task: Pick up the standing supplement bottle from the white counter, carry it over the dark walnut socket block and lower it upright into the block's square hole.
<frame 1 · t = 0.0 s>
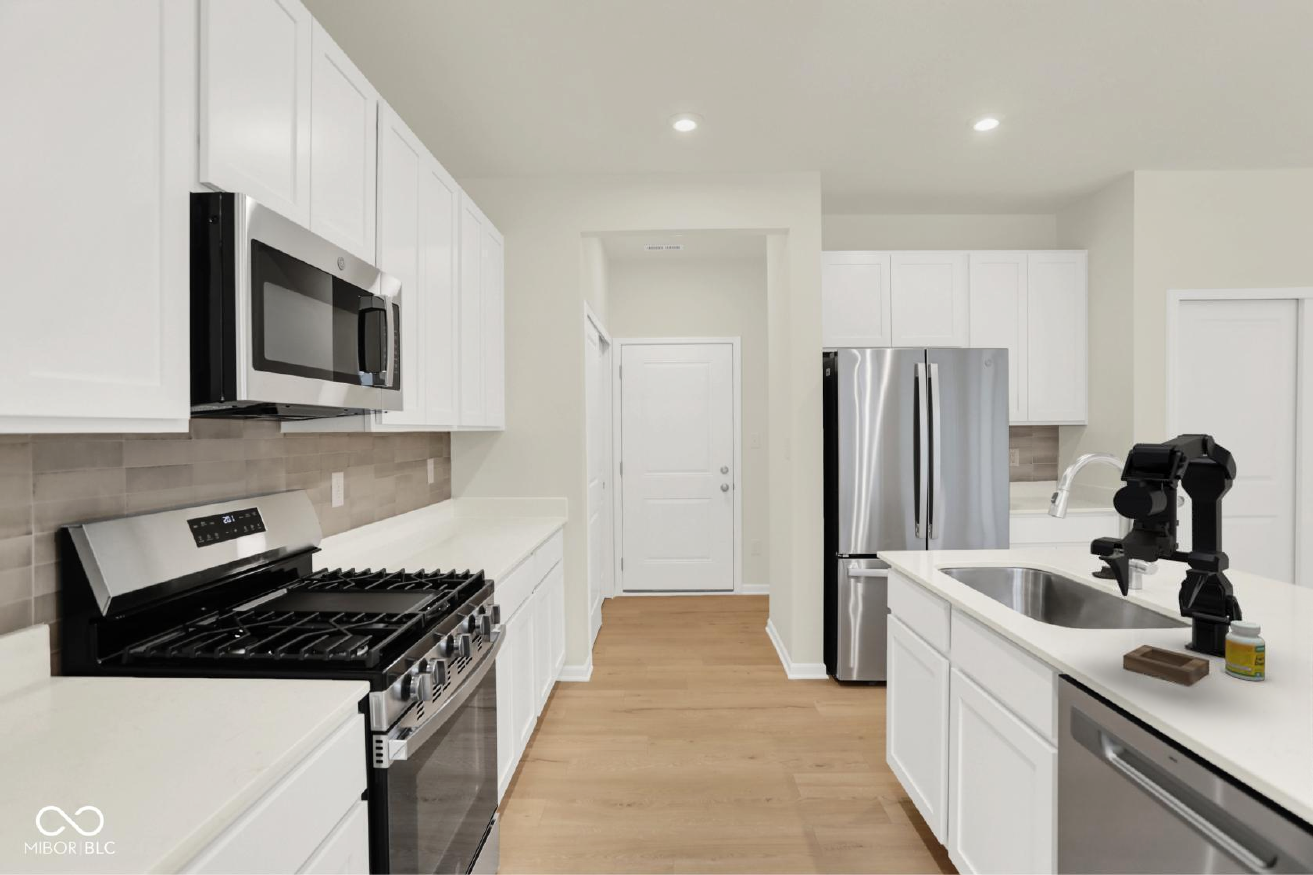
hand: (1155, 601, 113), 15 cm above the counter, tool pointing down, fingers open, 9 cm apart
supplement bottle: (1244, 676, 117), on the counter
socket block: (1165, 670, 119), on the counter
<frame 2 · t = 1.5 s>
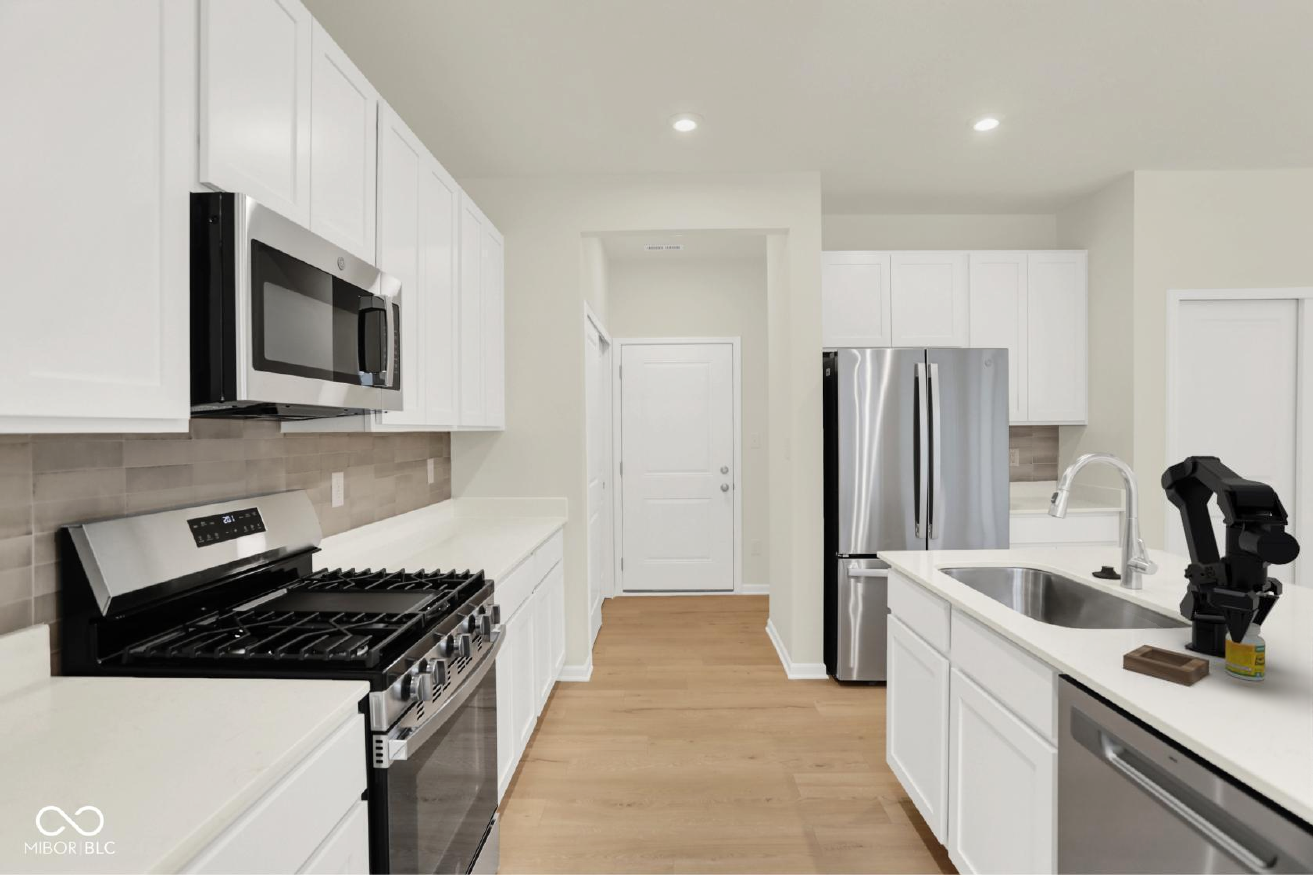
hand: (1244, 637, 117), 7 cm above the counter, tool pointing down, fingers open, 9 cm apart
nothing on the counter moved.
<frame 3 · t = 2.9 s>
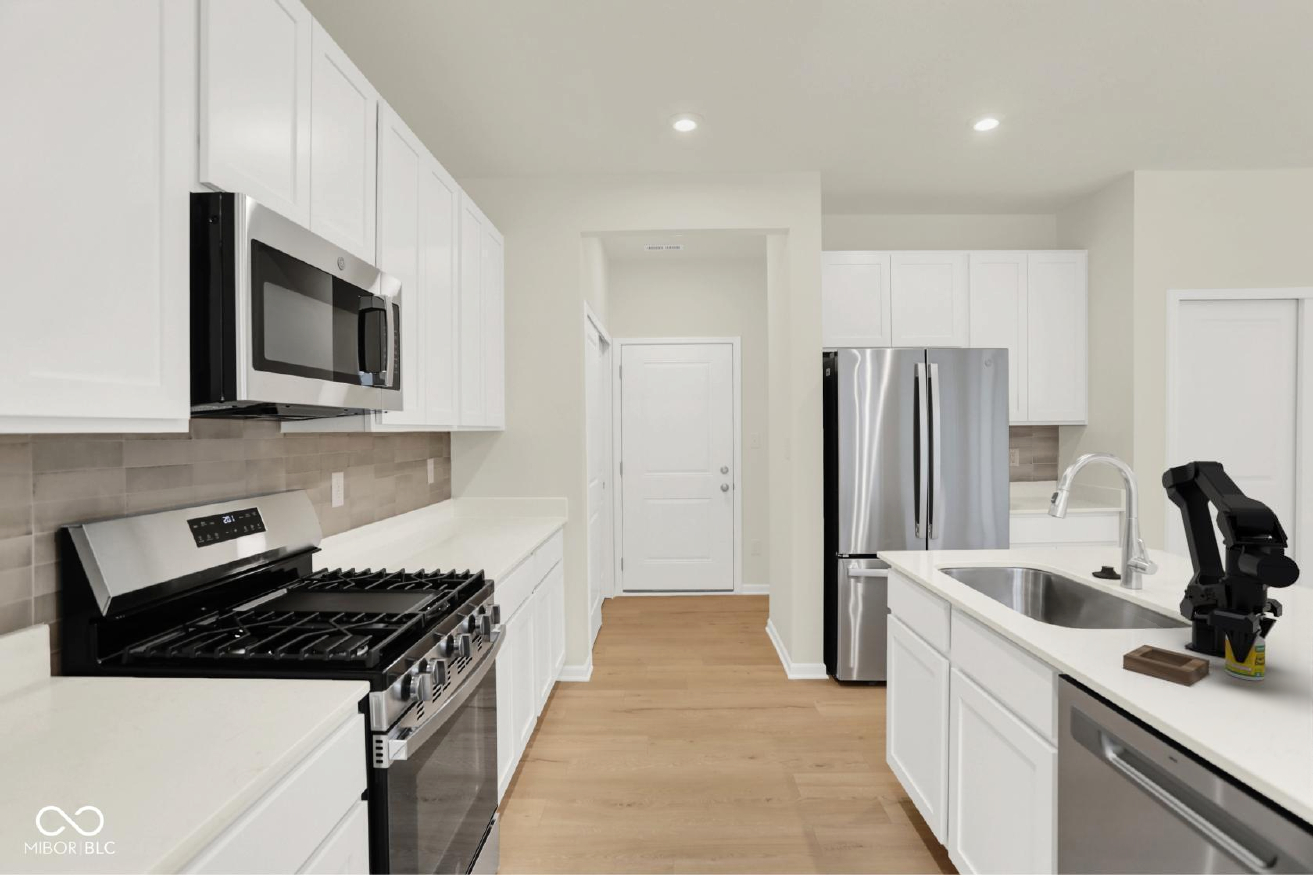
hand: (1244, 659, 117), 3 cm above the counter, tool pointing down, fingers closed on supplement bottle, 5 cm apart
supplement bottle: (1244, 676, 117), on the counter, touching gripper
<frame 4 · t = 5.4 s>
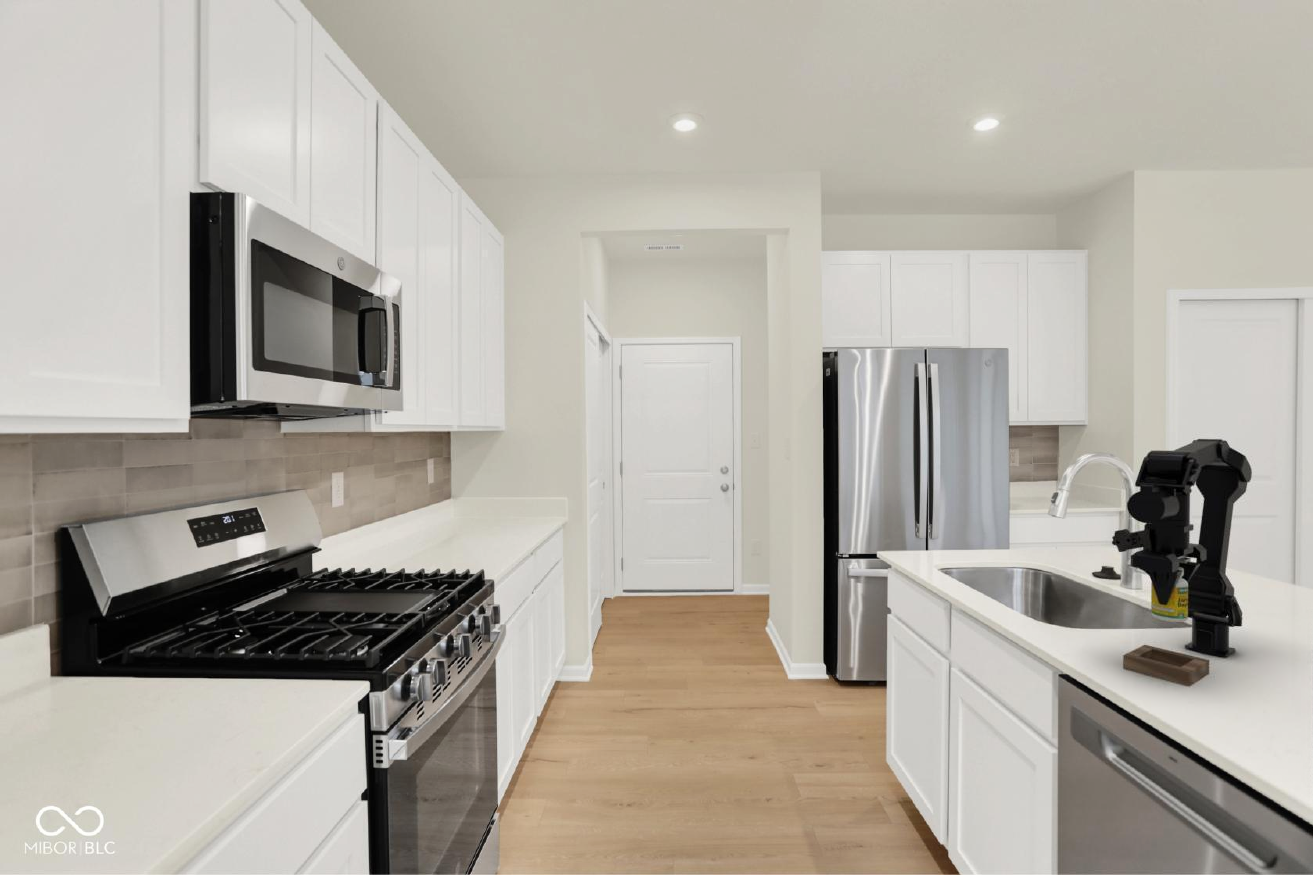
hand: (1168, 601, 119), 13 cm above the counter, tool pointing down, fingers closed on supplement bottle, 5 cm apart
supplement bottle: (1169, 619, 119), point 10 cm above the counter, touching gripper
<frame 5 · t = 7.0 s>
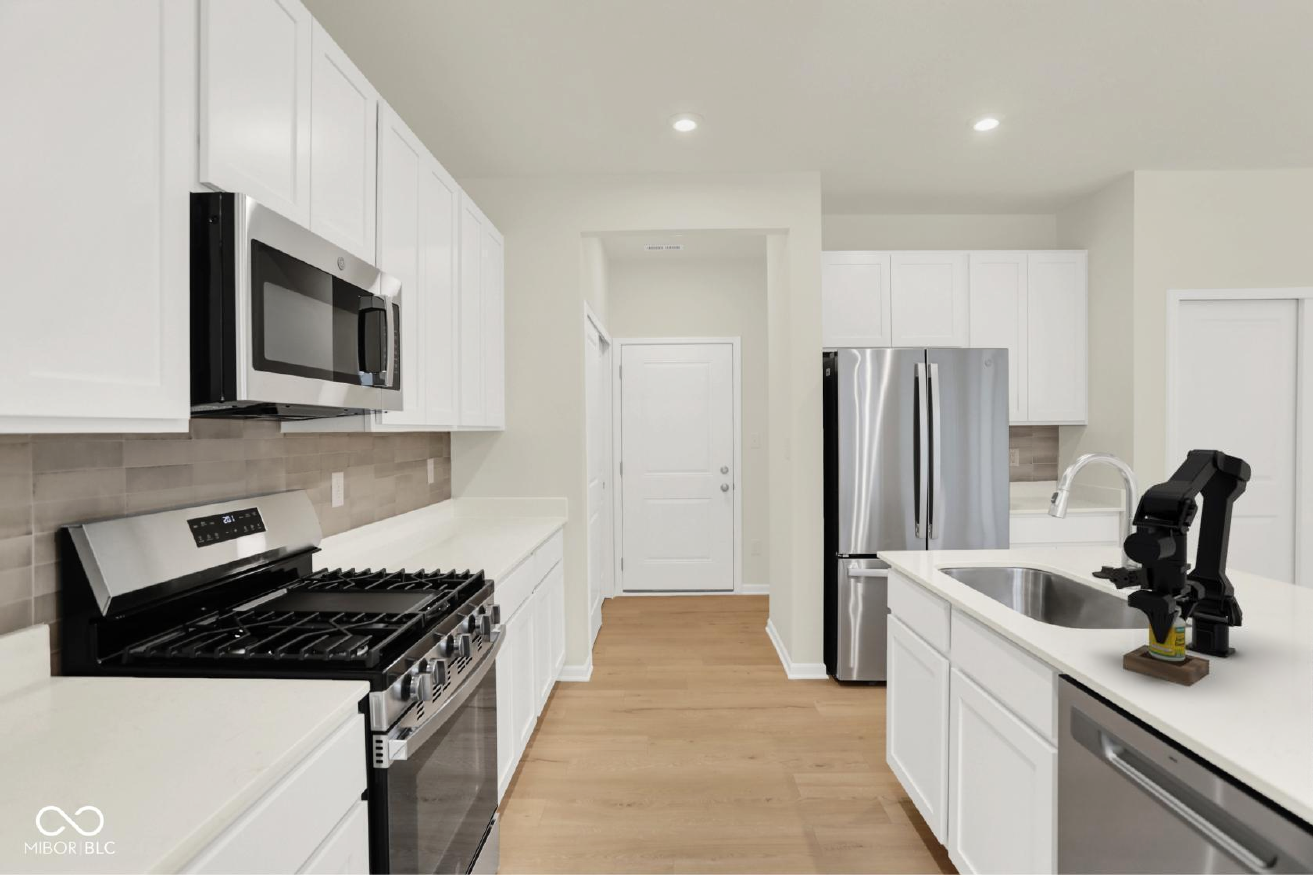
hand: (1166, 640, 119), 6 cm above the counter, tool pointing down, fingers closed on supplement bottle, 5 cm apart
supplement bottle: (1166, 657, 119), point 2 cm above the counter, touching gripper
when the fingers open (4 cm above the counter, at t = 8.3 s): supplement bottle stays where it is, resting in socket block.
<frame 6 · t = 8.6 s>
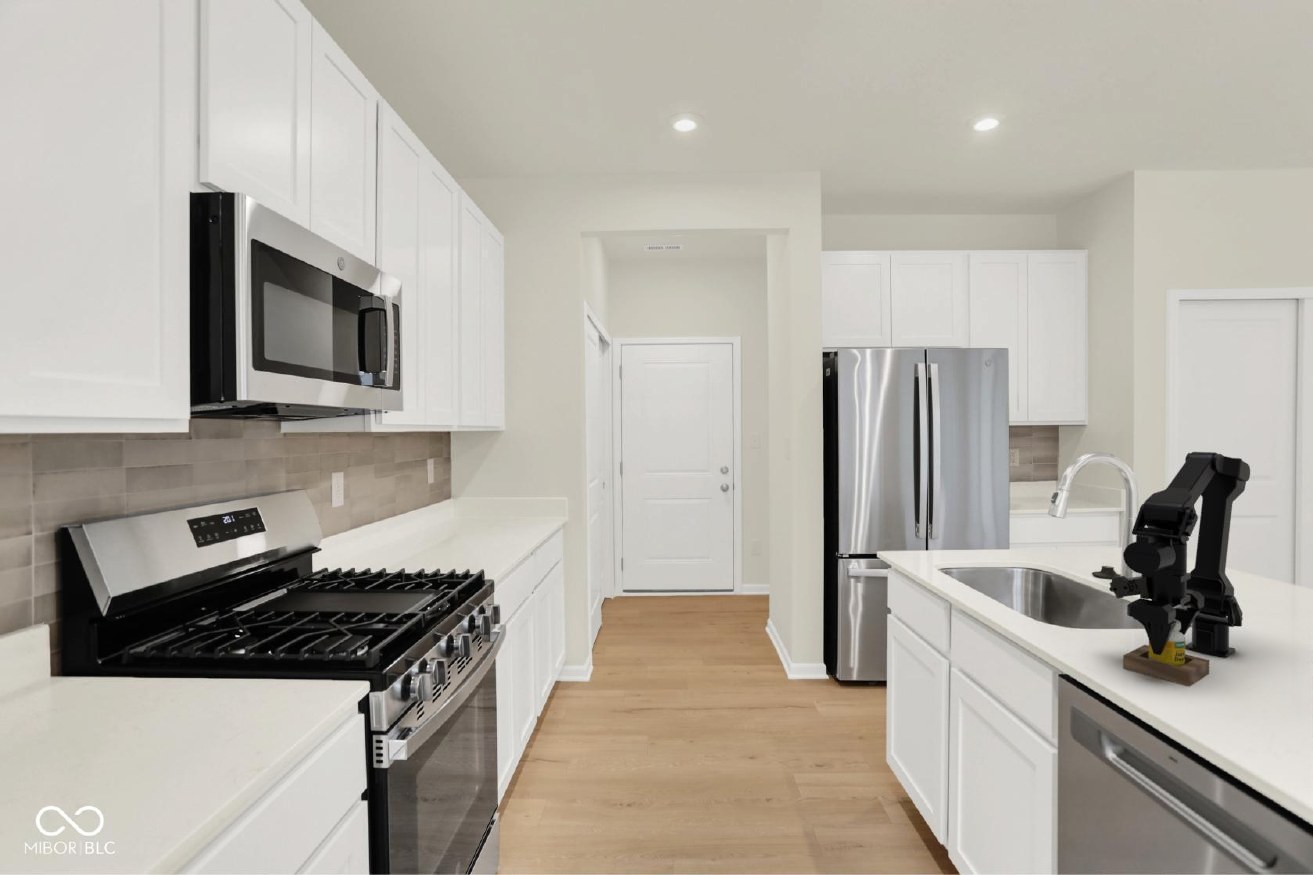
hand: (1166, 649, 119), 4 cm above the counter, tool pointing down, fingers open, 8 cm apart
supplement bottle: (1166, 672, 119), resting in socket block
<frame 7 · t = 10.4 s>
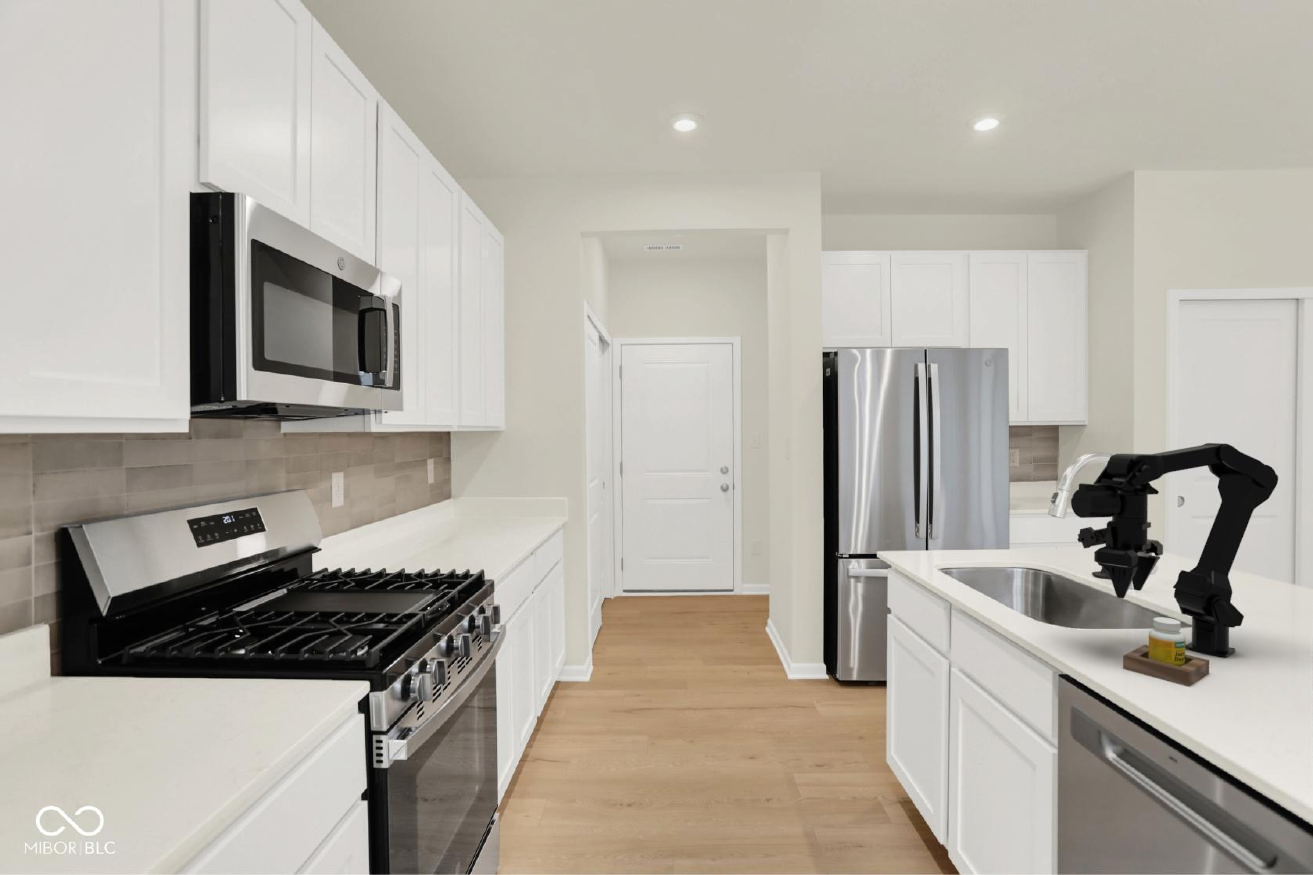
hand: (1129, 593, 128), 12 cm above the counter, tool pointing down, fingers open, 9 cm apart
nothing on the counter moved.
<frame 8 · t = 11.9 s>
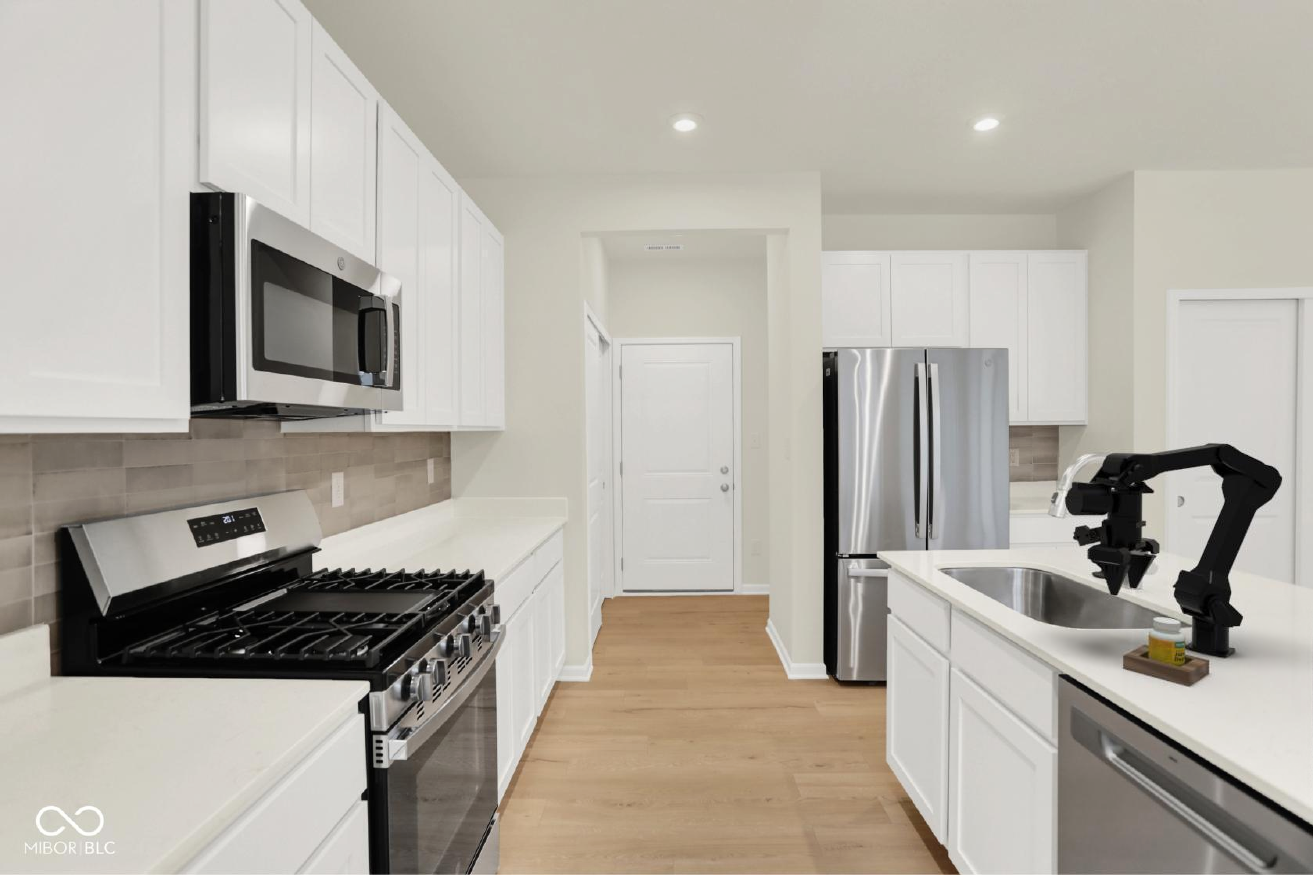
hand: (1123, 591, 130), 12 cm above the counter, tool pointing down, fingers open, 9 cm apart
nothing on the counter moved.
at the end: supplement bottle 0.1 cm off-centre on the socket block, point 0.0 cm above the socket block's base; supplement bottle tilted 0°; the gripper is holding nothing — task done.
